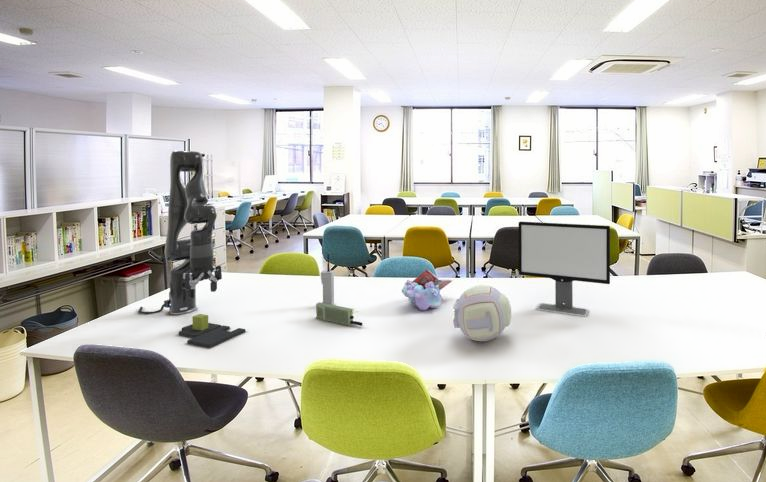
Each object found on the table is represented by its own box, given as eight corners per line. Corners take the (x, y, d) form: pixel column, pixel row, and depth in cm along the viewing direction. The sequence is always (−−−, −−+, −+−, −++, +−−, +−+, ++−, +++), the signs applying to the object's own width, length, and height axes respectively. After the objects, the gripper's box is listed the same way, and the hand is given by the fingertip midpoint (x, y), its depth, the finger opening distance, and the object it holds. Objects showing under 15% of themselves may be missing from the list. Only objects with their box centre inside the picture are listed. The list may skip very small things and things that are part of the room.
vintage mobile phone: (323, 304, 176) (322, 253, 176) (334, 304, 177) (333, 253, 176) (320, 307, 173) (320, 255, 172) (331, 307, 173) (331, 255, 173)
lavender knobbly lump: (395, 303, 164) (416, 269, 164) (399, 286, 185) (417, 256, 186) (434, 324, 167) (454, 290, 167) (434, 305, 188) (452, 275, 189)
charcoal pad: (187, 343, 137) (187, 340, 137) (223, 328, 151) (223, 325, 151) (210, 348, 134) (210, 344, 134) (245, 331, 147) (245, 329, 147)
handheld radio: (321, 316, 163) (364, 325, 152) (315, 319, 160) (359, 329, 149) (320, 301, 162) (364, 309, 152) (314, 304, 159) (358, 313, 149)
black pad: (199, 324, 155) (199, 309, 155) (221, 327, 151) (221, 312, 151) (173, 334, 145) (173, 318, 145) (196, 338, 141) (196, 322, 141)
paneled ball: (456, 326, 151) (455, 278, 151) (509, 326, 150) (509, 278, 150) (450, 351, 130) (450, 295, 130) (512, 351, 129) (512, 296, 129)
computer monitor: (517, 307, 172) (517, 222, 171) (522, 301, 180) (522, 220, 179) (609, 320, 157) (609, 227, 156) (610, 312, 164) (610, 224, 164)
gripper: (212, 250, 156) (213, 288, 156) (176, 258, 142) (177, 299, 142) (225, 251, 153) (226, 290, 154) (189, 259, 140) (190, 301, 140)
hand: (202, 294), depth 148 cm, fingers open, 8 cm apart
